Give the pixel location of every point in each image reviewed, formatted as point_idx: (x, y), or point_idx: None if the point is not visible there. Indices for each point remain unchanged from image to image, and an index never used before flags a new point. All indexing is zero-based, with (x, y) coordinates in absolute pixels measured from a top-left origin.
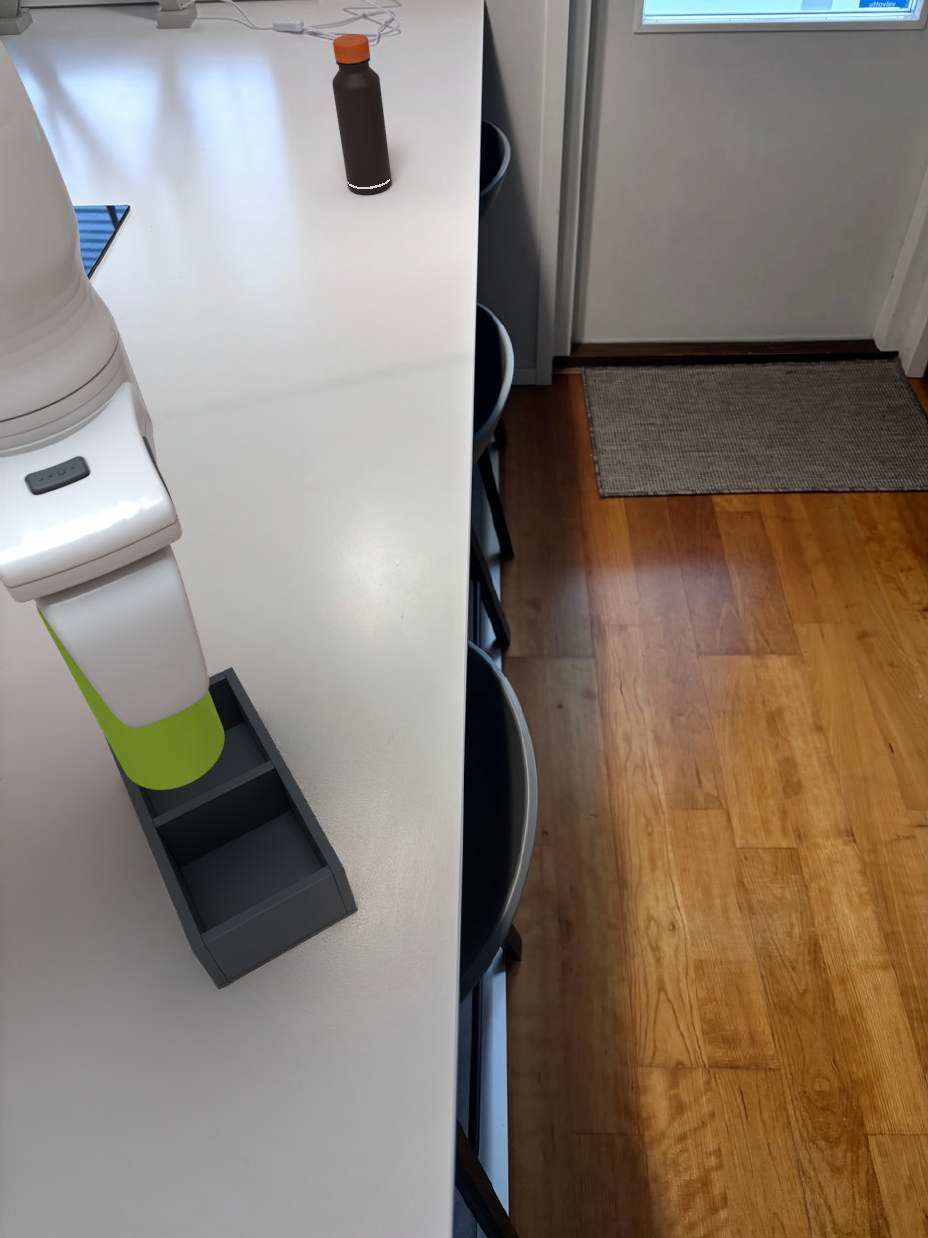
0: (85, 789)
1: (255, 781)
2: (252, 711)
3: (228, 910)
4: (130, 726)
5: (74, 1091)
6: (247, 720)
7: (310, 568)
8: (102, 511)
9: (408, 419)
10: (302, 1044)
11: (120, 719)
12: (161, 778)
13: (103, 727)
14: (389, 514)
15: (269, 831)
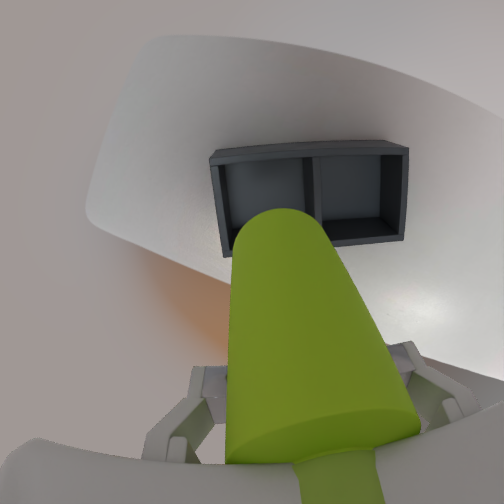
0: (387, 112)
1: None
2: (364, 242)
3: (259, 168)
4: (15, 449)
5: (195, 66)
6: (366, 231)
7: (446, 282)
8: None
9: (477, 347)
10: (168, 185)
11: (4, 461)
12: (234, 248)
13: (266, 254)
14: (444, 326)
15: (298, 206)
